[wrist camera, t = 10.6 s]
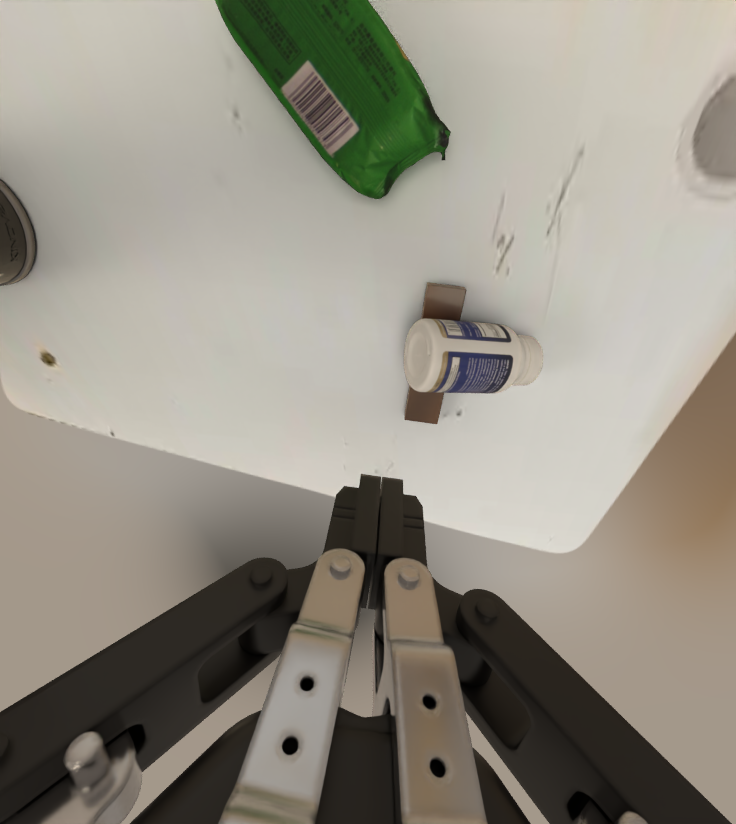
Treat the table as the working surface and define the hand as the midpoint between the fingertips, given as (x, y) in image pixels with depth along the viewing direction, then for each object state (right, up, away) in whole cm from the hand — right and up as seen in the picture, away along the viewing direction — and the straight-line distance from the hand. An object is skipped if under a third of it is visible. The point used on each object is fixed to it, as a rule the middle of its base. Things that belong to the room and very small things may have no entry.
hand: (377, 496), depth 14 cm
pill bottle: (+3, +7, +15) cm, 17 cm away
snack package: (-2, +25, +13) cm, 28 cm away
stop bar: (+5, +8, +20) cm, 23 cm away
